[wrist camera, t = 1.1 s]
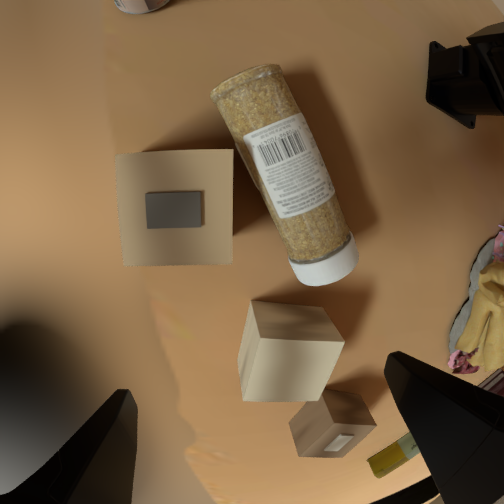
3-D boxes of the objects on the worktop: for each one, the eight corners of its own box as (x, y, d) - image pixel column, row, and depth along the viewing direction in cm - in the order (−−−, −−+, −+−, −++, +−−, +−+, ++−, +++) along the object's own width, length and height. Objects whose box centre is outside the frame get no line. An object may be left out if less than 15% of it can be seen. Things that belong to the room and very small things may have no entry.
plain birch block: (321, 306, 23) (345, 341, 19) (302, 362, 25) (317, 400, 20) (250, 299, 22) (260, 337, 18) (237, 359, 24) (243, 401, 19)
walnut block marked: (359, 394, 28) (377, 426, 23) (329, 426, 30) (342, 458, 25) (318, 386, 27) (334, 424, 22) (288, 421, 28) (299, 458, 23)
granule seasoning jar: (201, 100, 16) (287, 275, 21) (217, 77, 12) (319, 298, 17) (262, 77, 17) (335, 244, 22) (292, 53, 13) (374, 258, 18)
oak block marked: (228, 150, 18) (233, 149, 13) (227, 237, 20) (232, 265, 15) (138, 153, 18) (114, 154, 13) (143, 239, 20) (122, 267, 15)
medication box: (427, 416, 34) (438, 431, 30) (430, 422, 35) (441, 436, 31) (365, 459, 35) (374, 476, 31) (371, 463, 36) (379, 480, 32)
